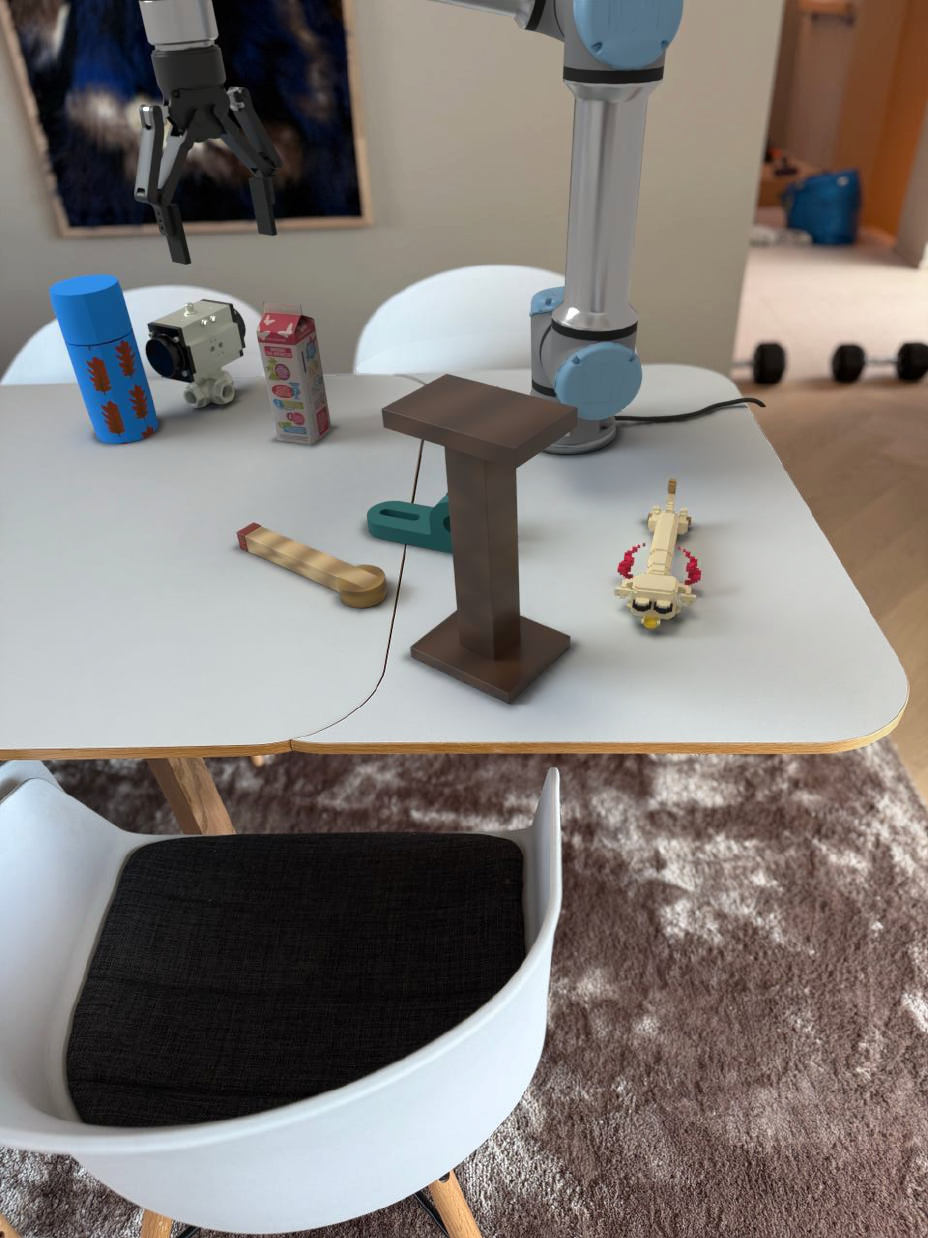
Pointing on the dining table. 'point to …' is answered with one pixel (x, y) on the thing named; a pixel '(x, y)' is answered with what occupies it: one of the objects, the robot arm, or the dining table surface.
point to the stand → (485, 526)
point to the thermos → (105, 357)
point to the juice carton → (293, 373)
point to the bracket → (412, 524)
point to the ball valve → (198, 349)
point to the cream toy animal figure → (659, 568)
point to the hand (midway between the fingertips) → (226, 248)
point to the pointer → (317, 566)
